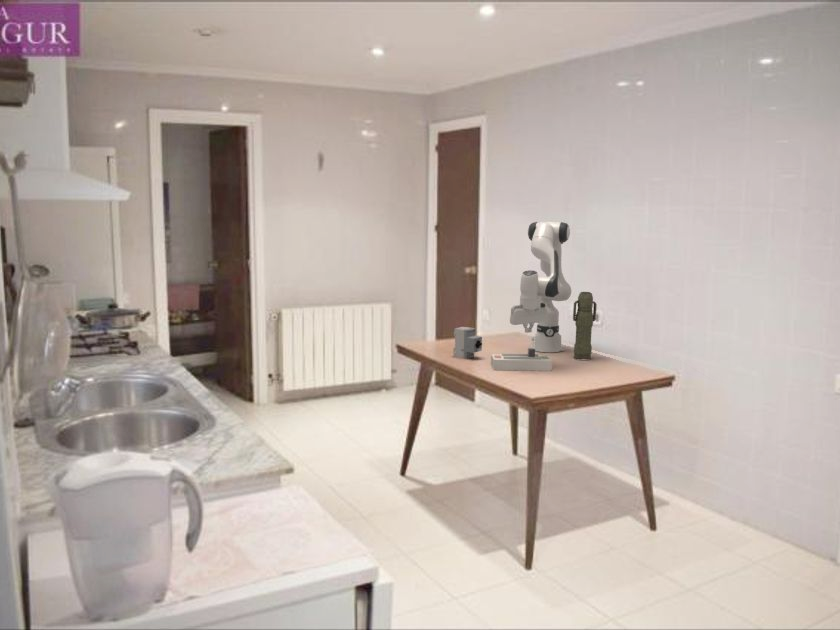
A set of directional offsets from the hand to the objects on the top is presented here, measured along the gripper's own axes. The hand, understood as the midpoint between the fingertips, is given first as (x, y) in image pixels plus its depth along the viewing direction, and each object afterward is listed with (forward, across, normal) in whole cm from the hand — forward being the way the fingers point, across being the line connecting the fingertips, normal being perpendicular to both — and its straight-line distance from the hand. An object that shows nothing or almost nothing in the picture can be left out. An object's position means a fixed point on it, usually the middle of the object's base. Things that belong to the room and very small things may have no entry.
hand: (528, 332), depth 353 cm
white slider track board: (+18, -3, +1) cm, 18 cm away
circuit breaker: (+18, -15, +31) cm, 39 cm away
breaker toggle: (+12, +1, -1) cm, 12 cm away
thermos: (+19, +40, +6) cm, 44 cm away
